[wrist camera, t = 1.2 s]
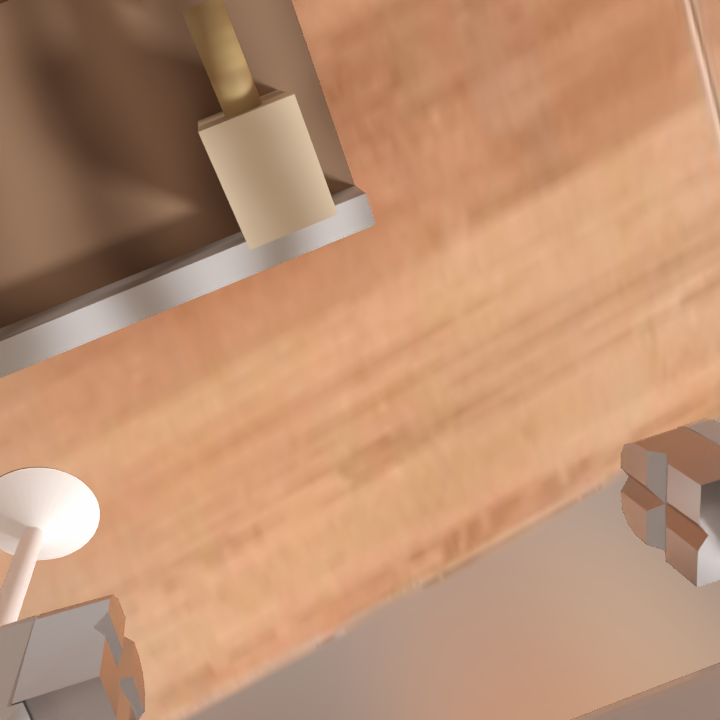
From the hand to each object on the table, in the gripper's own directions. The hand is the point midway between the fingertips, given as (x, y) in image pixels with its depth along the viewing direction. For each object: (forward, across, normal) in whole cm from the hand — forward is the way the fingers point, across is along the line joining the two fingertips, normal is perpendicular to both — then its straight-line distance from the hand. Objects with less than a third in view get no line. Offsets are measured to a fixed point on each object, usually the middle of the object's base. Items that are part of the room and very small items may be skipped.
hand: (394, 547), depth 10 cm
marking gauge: (+25, -2, -7) cm, 26 cm away
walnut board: (+28, +5, -6) cm, 29 cm away
